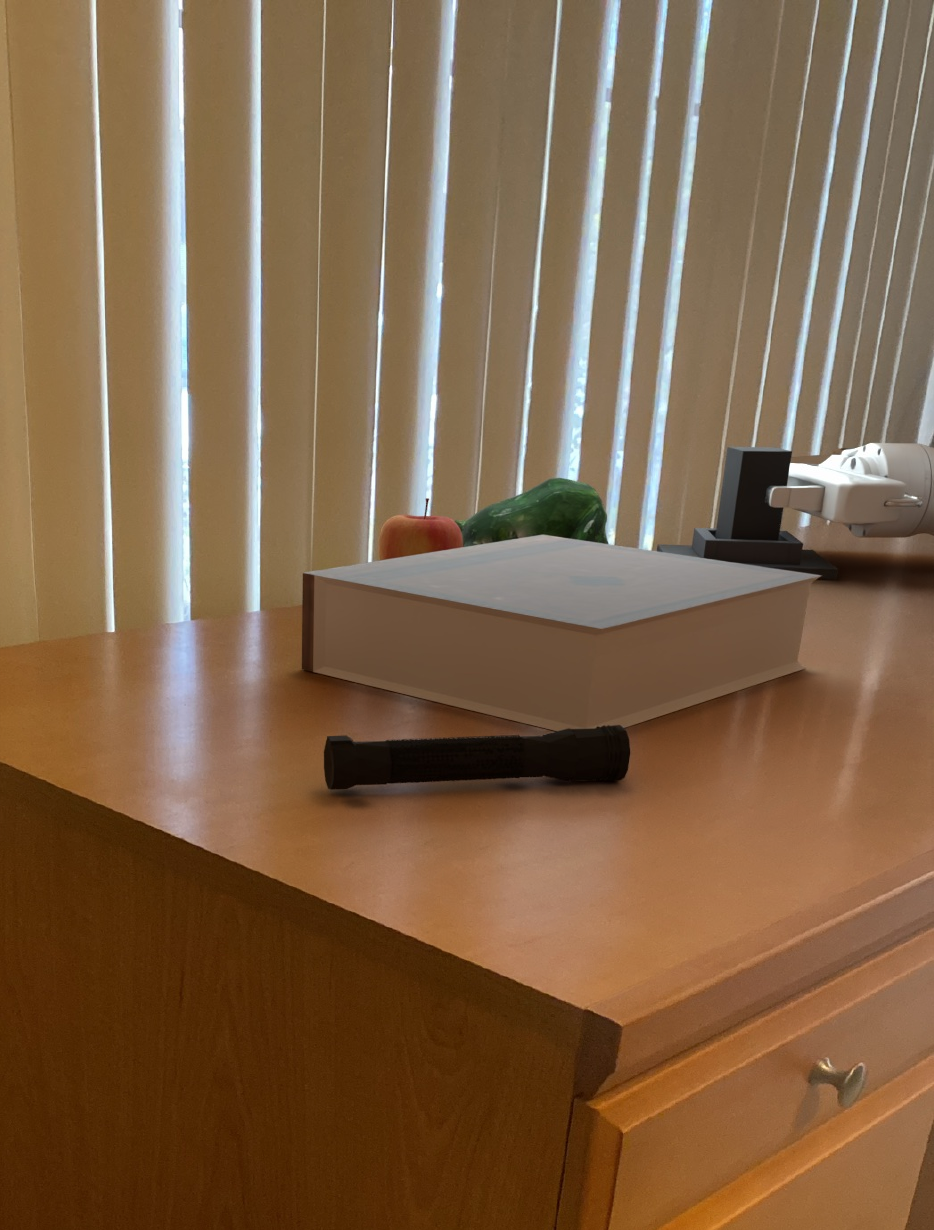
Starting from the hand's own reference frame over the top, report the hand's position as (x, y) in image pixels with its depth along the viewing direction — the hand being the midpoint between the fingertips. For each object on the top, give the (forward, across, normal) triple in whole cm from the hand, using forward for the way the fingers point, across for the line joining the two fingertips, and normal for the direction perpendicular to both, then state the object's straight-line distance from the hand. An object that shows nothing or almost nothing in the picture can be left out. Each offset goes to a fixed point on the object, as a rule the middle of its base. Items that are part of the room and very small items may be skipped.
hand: (748, 490), depth 143 cm
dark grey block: (0, 0, -6) cm, 6 cm away
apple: (+36, -15, -7) cm, 40 cm away
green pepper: (+24, -6, -7) cm, 25 cm away
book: (+31, -43, -7) cm, 54 cm away
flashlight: (+44, -70, -7) cm, 83 cm away
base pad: (0, 0, -7) cm, 7 cm away
